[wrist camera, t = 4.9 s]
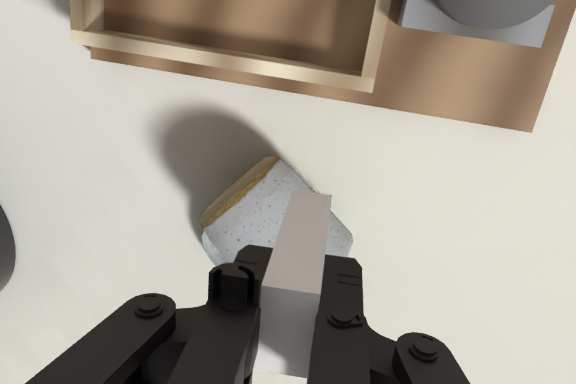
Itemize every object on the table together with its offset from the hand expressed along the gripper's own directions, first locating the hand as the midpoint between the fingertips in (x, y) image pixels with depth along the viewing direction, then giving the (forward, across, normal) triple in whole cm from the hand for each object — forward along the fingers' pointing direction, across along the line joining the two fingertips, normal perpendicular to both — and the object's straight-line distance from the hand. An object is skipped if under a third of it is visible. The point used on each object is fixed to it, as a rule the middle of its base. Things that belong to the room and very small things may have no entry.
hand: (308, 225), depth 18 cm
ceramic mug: (+15, -3, -8) cm, 17 cm away
